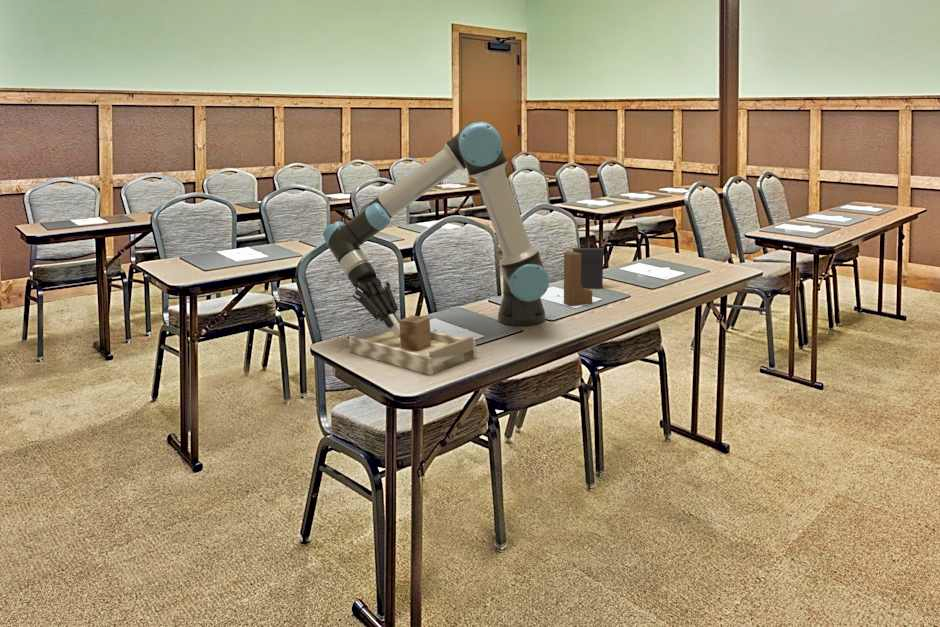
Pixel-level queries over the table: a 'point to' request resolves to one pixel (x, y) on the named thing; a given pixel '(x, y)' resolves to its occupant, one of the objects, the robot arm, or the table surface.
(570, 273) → the wooden block
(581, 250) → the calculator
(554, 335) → the table surface
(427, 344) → the walnut block
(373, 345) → the box
